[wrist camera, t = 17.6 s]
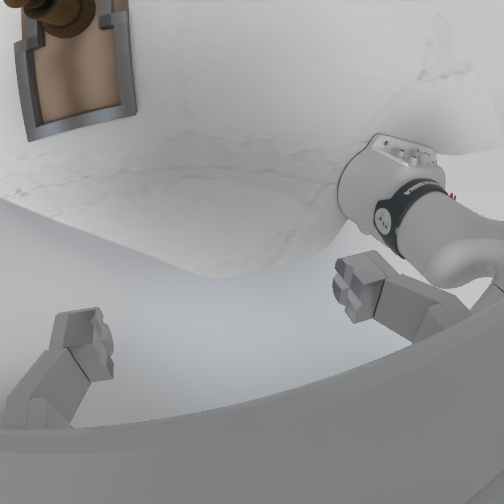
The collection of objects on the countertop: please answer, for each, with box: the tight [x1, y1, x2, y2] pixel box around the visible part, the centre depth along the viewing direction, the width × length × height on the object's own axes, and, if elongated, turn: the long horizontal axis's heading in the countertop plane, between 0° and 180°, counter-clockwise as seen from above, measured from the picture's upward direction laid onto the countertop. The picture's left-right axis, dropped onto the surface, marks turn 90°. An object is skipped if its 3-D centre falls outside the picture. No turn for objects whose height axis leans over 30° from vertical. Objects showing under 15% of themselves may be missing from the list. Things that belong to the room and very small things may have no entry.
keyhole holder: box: [14, 0, 137, 142], centre depth 27 cm, size 14×21×4 cm, turn 1°
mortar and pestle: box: [4, 0, 96, 38], centre depth 18 cm, size 7×6×18 cm
